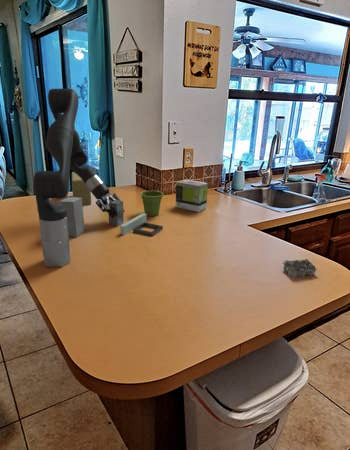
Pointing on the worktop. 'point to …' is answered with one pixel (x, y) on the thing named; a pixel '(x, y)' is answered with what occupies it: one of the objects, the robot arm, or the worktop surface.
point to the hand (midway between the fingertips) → (118, 214)
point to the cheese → (80, 189)
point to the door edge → (132, 224)
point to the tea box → (191, 195)
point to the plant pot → (151, 202)
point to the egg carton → (299, 267)
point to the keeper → (137, 230)
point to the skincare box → (74, 215)
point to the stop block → (116, 213)
